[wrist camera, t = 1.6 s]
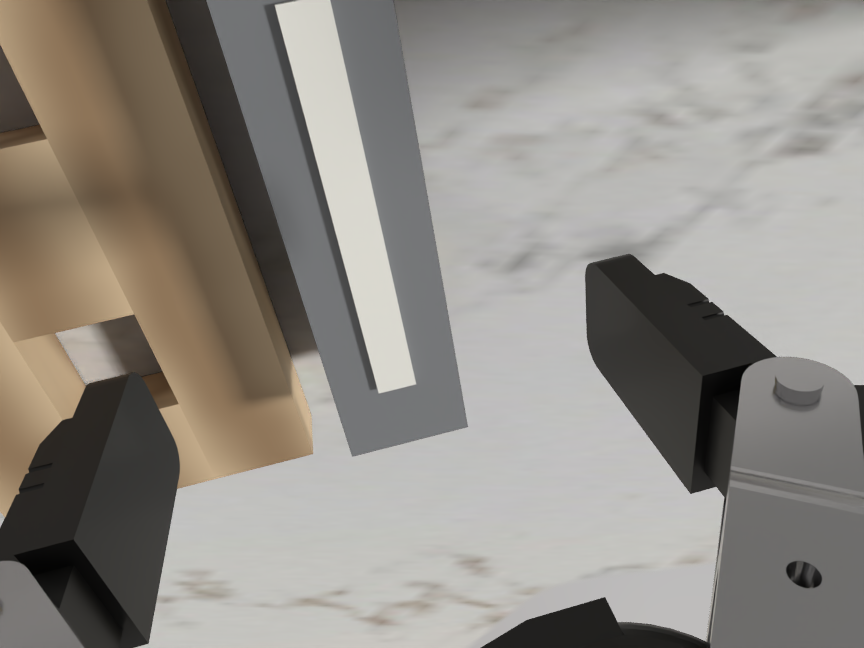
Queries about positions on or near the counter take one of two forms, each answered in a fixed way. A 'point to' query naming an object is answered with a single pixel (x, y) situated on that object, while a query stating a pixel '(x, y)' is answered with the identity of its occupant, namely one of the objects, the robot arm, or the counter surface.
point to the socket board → (130, 244)
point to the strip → (350, 205)
